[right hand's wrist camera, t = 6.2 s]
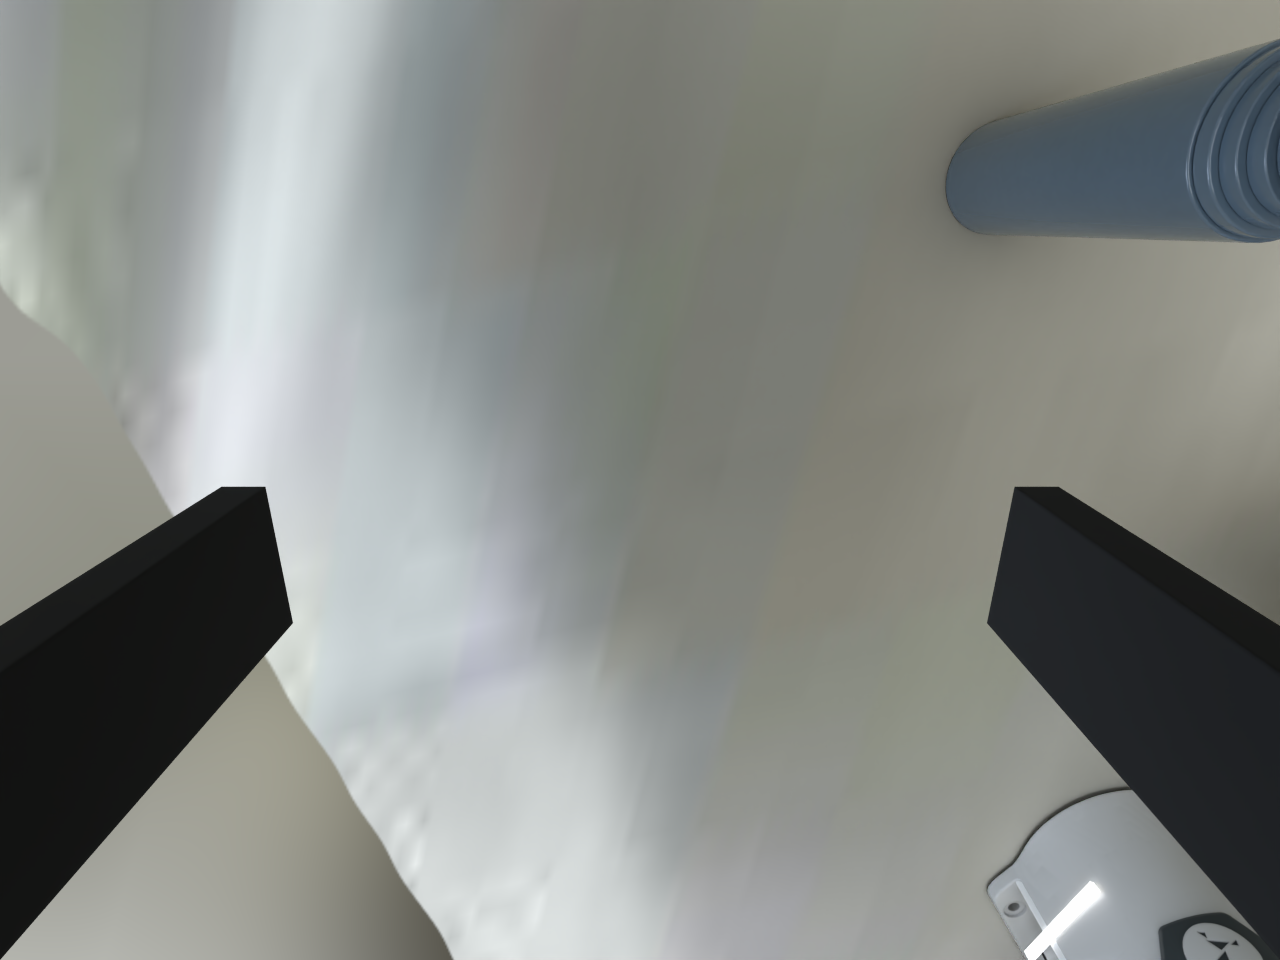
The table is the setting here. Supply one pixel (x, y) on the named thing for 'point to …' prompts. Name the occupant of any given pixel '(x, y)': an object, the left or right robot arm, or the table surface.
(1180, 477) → the table surface
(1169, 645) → the right robot arm
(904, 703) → the table surface
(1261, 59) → the bottle
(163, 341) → the table surface
